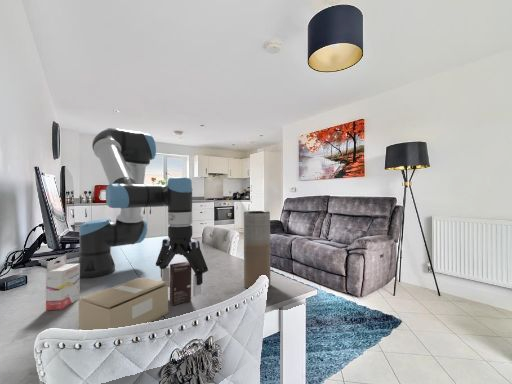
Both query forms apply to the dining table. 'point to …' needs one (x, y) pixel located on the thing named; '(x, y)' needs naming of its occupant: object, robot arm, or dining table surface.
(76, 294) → the ink cartridge box
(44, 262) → the desk tidy frame
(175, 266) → the box
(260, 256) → the burlap textured cylinder
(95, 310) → the carton
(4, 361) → the dining table surface
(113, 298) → the lid
